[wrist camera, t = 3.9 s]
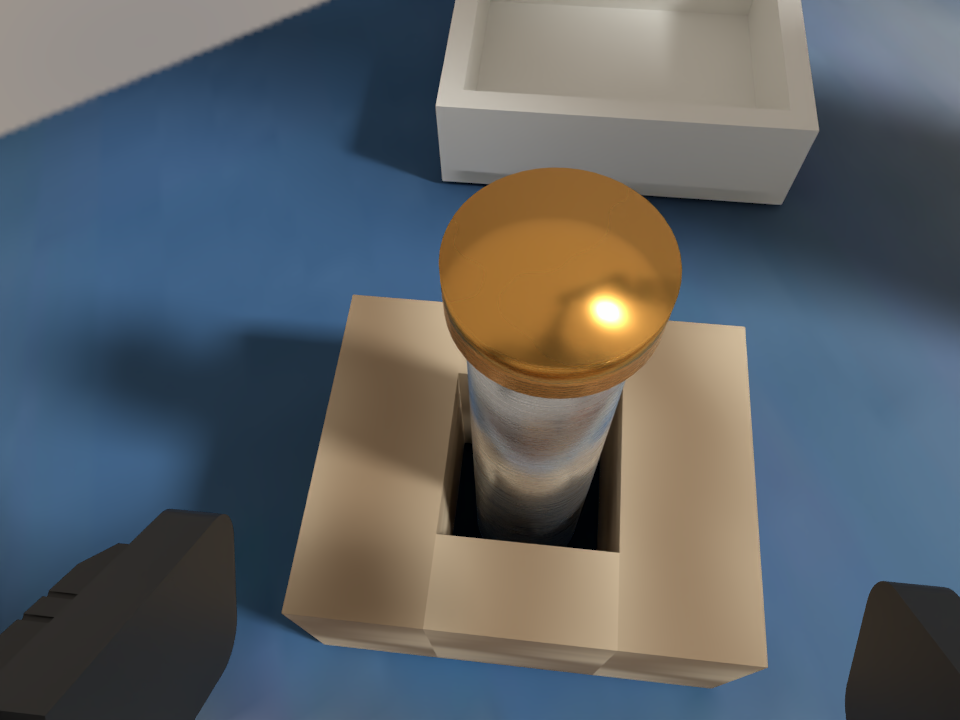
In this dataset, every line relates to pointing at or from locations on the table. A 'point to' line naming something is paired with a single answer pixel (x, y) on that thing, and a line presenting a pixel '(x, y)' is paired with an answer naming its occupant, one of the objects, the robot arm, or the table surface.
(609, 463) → the block
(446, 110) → the tray
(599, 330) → the lock pin
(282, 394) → the table surface
